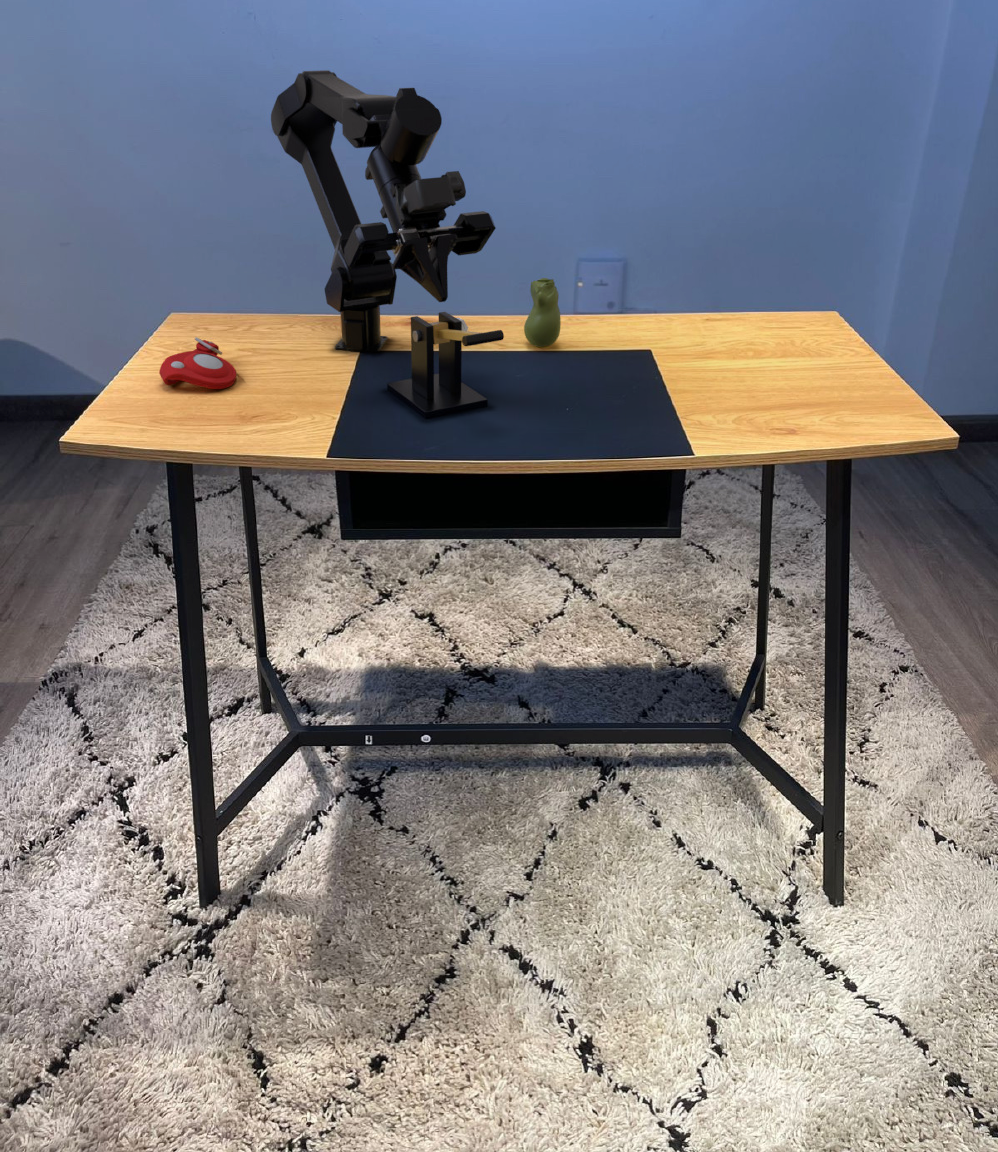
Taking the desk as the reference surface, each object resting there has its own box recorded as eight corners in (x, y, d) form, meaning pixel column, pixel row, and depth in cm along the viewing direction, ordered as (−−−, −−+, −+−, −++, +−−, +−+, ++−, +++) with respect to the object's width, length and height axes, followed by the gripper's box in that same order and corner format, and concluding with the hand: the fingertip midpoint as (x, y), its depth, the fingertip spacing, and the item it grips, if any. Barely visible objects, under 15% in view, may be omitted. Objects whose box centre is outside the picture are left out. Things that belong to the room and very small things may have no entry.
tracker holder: (249, 377, 135) (175, 373, 129) (242, 406, 138) (169, 403, 132) (220, 331, 142) (148, 325, 137) (213, 358, 145) (142, 354, 139)
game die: (439, 338, 154) (439, 318, 153) (459, 333, 156) (459, 314, 155) (452, 344, 152) (452, 325, 150) (472, 340, 154) (472, 320, 152)
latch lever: (504, 345, 120) (502, 324, 119) (468, 352, 118) (465, 330, 117) (449, 338, 132) (447, 320, 131) (414, 344, 130) (412, 325, 129)
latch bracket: (487, 408, 132) (489, 326, 126) (425, 421, 128) (424, 337, 122) (446, 380, 140) (446, 302, 134) (387, 391, 136) (384, 311, 130)
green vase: (563, 351, 151) (567, 283, 146) (528, 353, 150) (531, 285, 145) (553, 338, 156) (556, 273, 150) (519, 340, 154) (522, 274, 149)
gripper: (348, 152, 116) (394, 274, 114) (489, 142, 124) (534, 255, 122) (325, 210, 126) (367, 323, 124) (457, 197, 134) (499, 302, 132)
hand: (443, 300), depth 125 cm, fingers closed
